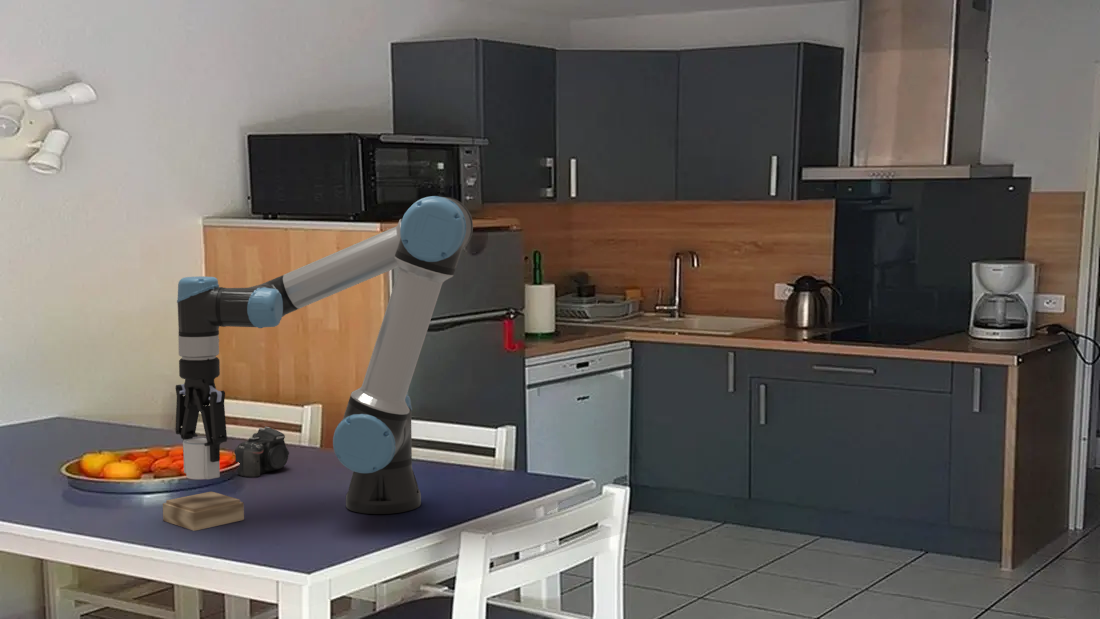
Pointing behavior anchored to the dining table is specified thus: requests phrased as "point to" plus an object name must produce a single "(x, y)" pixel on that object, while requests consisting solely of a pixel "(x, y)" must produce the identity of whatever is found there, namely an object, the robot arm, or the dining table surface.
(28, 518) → the dining table surface
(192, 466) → the shot glass
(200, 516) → the stand
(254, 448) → the camera
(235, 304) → the robot arm
